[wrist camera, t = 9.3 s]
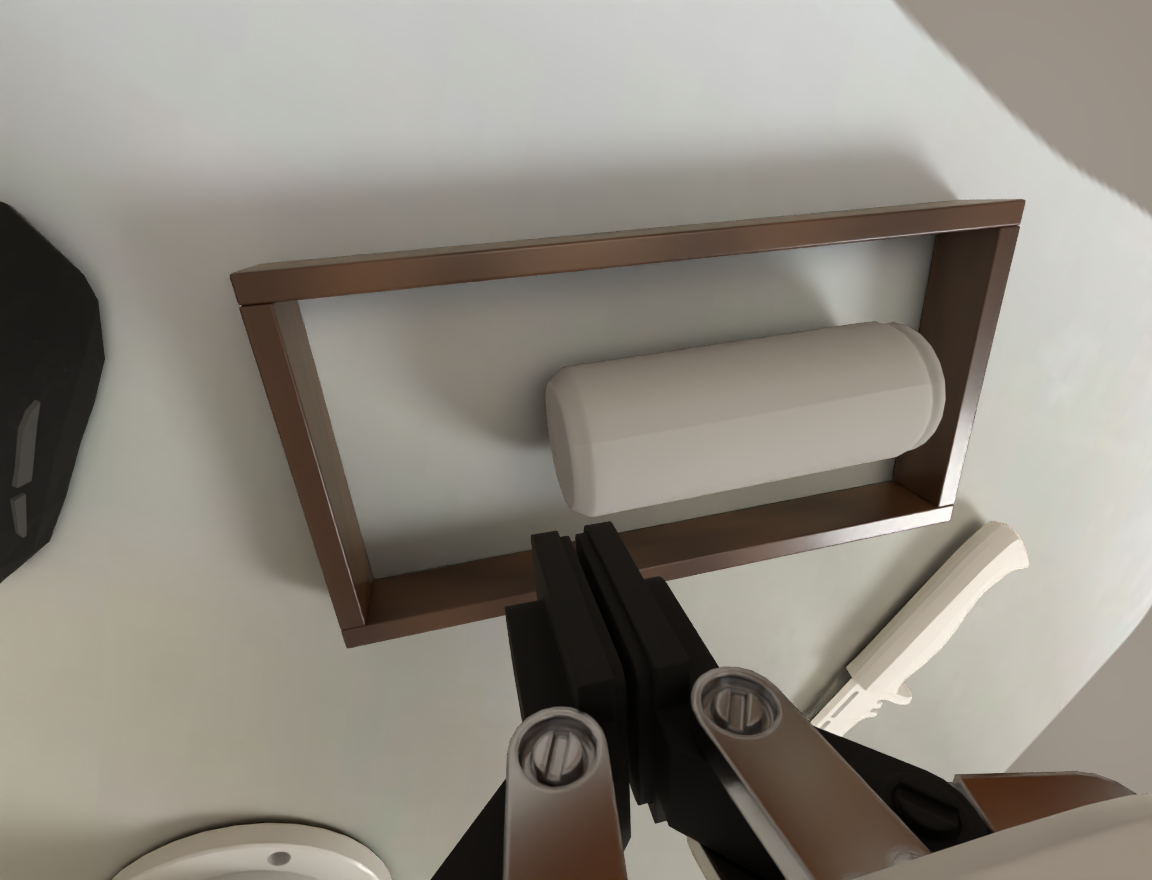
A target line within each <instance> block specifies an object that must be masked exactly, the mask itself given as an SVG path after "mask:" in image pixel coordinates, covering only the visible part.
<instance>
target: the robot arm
mask: <svg viewBox="0 0 1152 880" xmlns="http://www.w3.org/2000/svg"><path fill="white" fill-rule="evenodd" d="M575 542H576V552H575V549H574V547H573V545H572V542H571V540H570V537H569V536H563V537H560V535H559V533H558V531H551V532H546V533H540V534H534V535H531V546H532V556H533V565H534V575H535V584H536V594H537V600H536V601H531V602H526V603H521V604H516V605H511V606H506V607H505V614H506V622H507V629H508V637H509V644H510V651H511V657H512V664H513V670H514V676H515V683H516V688H517V694H518V700H519V706H520V712H521V718H522V723H521V724H520V725H519V726H518V727H517V729H516V730H515V732H514V734H513V736H512V737H511V739H510V742H509V747H508V752H507V769H506V779H505V780H504V782H503V783H502V785H501V786H500V787H499V789H498V790H497V791H496V793H495V794H494V795H493V797H492V798H491V799H490V801H489V802H488V803H487V805H486V806H485V807H484V809H483V810H482V811H481V813H480V814H479V815H478V817H477V818H476V819H475V821H474V822H473V823H472V825H471V826H470V827H469V829H468V830H467V831H466V833H465V834H464V835H463V837H462V838H461V840H460V841H459V842H458V844H457V845H456V846H455V848H454V849H453V850H452V852H451V853H450V854H449V856H448V857H447V858H446V860H445V861H444V862H443V864H442V865H441V866H440V868H439V869H438V870H437V872H436V873H435V874H434V876H433V877H432V878H431V880H628V879H627V872H626V865H625V859H624V850H625V848H626V846H627V844H628V842H629V840H630V838H631V824H630V788H629V783H630V786H631V789H632V792H633V795H634V797H635V800H636V802H637V804H638V805H642V804H646V803H648V805H649V808H650V811H651V814H652V817H653V819H654V822H655V824H656V823H660V822H663V821H667V822H668V825H669V826H670V827H672V828H673V829H675V830H677V831H679V832H681V833H682V834H684V835H686V836H687V842H688V844H689V847H690V850H691V852H692V855H693V856H694V858H695V860H696V862H697V864H698V865H699V867H700V869H701V871H702V873H703V874H704V876H705V878H706V880H1152V793H1145V794H1136V793H1134V792H1133V791H1131V790H1129V789H1128V788H1126V787H1124V786H1123V785H1121V784H1119V783H1118V782H1116V781H1113V780H1110V779H1108V778H1105V777H1103V776H1100V775H1097V774H1093V773H1086V772H1078V771H1066V772H1029V773H991V774H955V776H954V780H953V782H946V781H945V780H944V779H942V778H940V777H938V776H936V775H934V774H932V773H930V772H928V771H926V770H924V769H921V768H919V767H916V766H914V765H911V764H909V763H906V762H903V761H901V760H898V759H896V758H893V757H891V756H888V755H886V754H883V753H881V752H878V751H876V750H873V749H871V748H868V747H866V746H863V745H861V744H858V743H856V742H853V741H851V740H848V739H846V738H843V737H841V736H838V735H835V734H833V733H830V732H828V731H825V730H823V729H820V728H818V727H815V726H813V725H812V724H811V723H810V722H809V721H808V720H807V719H806V718H805V717H804V716H803V715H802V713H801V712H800V711H799V710H798V709H797V708H796V707H795V706H794V705H793V704H792V703H791V702H790V701H789V700H788V699H787V697H786V696H785V695H784V694H783V693H782V692H781V691H780V690H779V689H778V688H777V687H776V686H775V685H774V684H773V683H771V682H770V681H769V680H768V679H767V678H765V677H764V676H762V675H760V674H758V673H756V672H754V671H751V670H747V669H744V668H740V667H720V668H719V666H718V665H717V663H716V662H715V660H714V658H713V657H712V655H711V654H710V652H709V650H708V649H707V647H706V646H705V644H704V642H703V641H702V639H701V638H700V636H699V634H698V633H697V631H696V630H695V628H694V626H693V625H692V623H691V622H690V620H689V618H688V617H687V615H686V614H685V612H684V610H683V609H682V607H681V606H680V604H679V602H678V601H677V599H676V598H675V596H674V594H673V593H672V591H671V589H670V588H669V586H668V585H667V583H666V582H665V580H664V579H663V578H662V577H660V576H656V577H651V578H646V579H644V578H643V576H642V575H641V573H640V571H639V569H638V568H637V566H636V564H635V562H634V561H633V559H632V557H631V555H630V554H629V552H628V550H627V548H626V547H625V545H624V543H623V541H622V540H621V538H620V536H619V534H618V533H617V531H616V529H615V527H614V525H613V524H612V522H610V521H608V522H602V523H597V524H591V525H585V526H584V533H580V534H576V536H575ZM112 880H392V878H391V875H390V873H389V871H388V869H387V868H386V866H385V865H384V863H383V862H382V860H381V859H380V858H379V857H378V856H376V855H375V854H374V853H373V852H372V851H371V850H370V849H368V848H367V847H366V846H364V845H362V844H361V843H359V842H357V841H355V840H353V839H351V838H350V837H348V836H345V835H342V834H339V833H336V832H333V831H330V830H327V829H324V828H318V827H312V826H307V825H301V824H288V823H257V824H245V825H235V826H229V827H224V828H219V829H214V830H209V831H204V832H201V833H198V834H195V835H192V836H189V837H186V838H182V839H179V840H176V841H174V842H171V843H169V844H167V845H165V846H163V847H161V848H159V849H156V850H154V851H152V852H150V853H148V854H146V855H144V856H142V857H141V858H139V859H138V860H136V861H135V862H133V863H132V864H130V865H129V866H127V867H126V868H124V869H123V870H121V871H120V872H119V873H118V874H117V875H116V876H115V877H114V878H113V879H112Z"/></svg>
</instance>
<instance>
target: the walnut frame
mask: <svg viewBox="0 0 1152 880" xmlns="http://www.w3.org/2000/svg"><path fill="white" fill-rule="evenodd" d="M1024 206H1025V200H1023V199H990V200H954V201H943V202H932V203H921V204H910V205H900V206H889V207H878V208H867V209H856V210H845V211H834V212H823V213H812V214H801V215H790V216H779V217H768V218H758V219H747V220H736V221H725V222H714V223H703V224H692V225H681V226H670V227H659V228H648V229H637V230H627V231H616V232H605V233H594V234H583V235H572V236H561V237H550V238H539V239H528V240H517V241H506V242H495V243H485V244H474V245H463V246H452V247H441V248H430V249H419V250H408V251H397V252H386V253H375V254H364V255H353V256H343V257H332V258H321V259H310V260H299V261H288V262H277V263H266V264H259V265H256V266H252V267H249V268H246V269H243V270H240V271H237V272H234V273H232V274H230V280H231V283H232V286H233V289H234V292H235V296H236V299H237V302H238V304H239V305H242V306H241V307H240V312H241V316H242V319H243V322H244V325H245V328H246V331H247V335H248V338H249V341H250V344H251V347H252V350H253V354H254V357H255V360H256V363H257V366H258V369H259V372H260V376H261V379H262V382H263V385H264V388H265V391H266V395H267V398H268V401H269V404H270V407H271V410H272V414H273V417H274V420H275V423H276V426H277V429H278V433H279V436H280V439H281V442H282V445H283V448H284V452H285V455H286V458H287V461H288V464H289V467H290V470H291V474H292V477H293V480H294V483H295V486H296V489H297V493H298V496H299V499H300V502H301V505H302V508H303V512H304V515H305V518H306V521H307V524H308V527H309V531H310V534H311V537H312V540H313V543H314V546H315V550H316V553H317V556H318V559H319V562H320V565H321V569H322V572H323V575H324V578H325V581H326V584H327V587H328V591H329V594H330V597H331V600H332V603H333V606H334V610H335V613H336V616H337V619H338V622H339V625H340V628H341V632H342V635H343V638H344V641H345V645H346V647H347V648H353V647H357V646H362V645H367V644H371V643H376V642H381V641H386V640H390V639H395V638H400V637H404V636H409V635H414V634H419V633H423V632H428V631H433V630H437V629H442V628H447V627H452V626H456V625H461V624H466V623H470V622H475V621H480V620H485V619H489V618H494V617H499V616H504V615H506V614H505V607H506V606H511V605H516V604H521V603H526V602H531V601H536V600H537V594H536V584H535V575H534V565H533V556H532V550H530V551H525V552H519V553H514V554H509V555H504V556H499V557H493V558H488V559H483V560H478V561H473V562H468V563H462V564H457V565H452V566H447V567H442V568H436V569H431V570H426V571H421V572H416V573H410V574H405V575H400V576H395V577H390V578H384V579H379V580H374V581H373V577H372V573H371V569H370V566H369V562H368V558H367V555H366V551H365V547H364V544H363V540H362V536H361V533H360V529H359V525H358V521H357V518H356V514H355V510H354V507H353V503H352V499H351V496H350V492H349V488H348V485H347V481H346V477H345V474H344V470H343V466H342V463H341V459H340V455H339V452H338V448H337V444H336V441H335V437H334V433H333V430H332V426H331V422H330V419H329V415H328V411H327V408H326V404H325V400H324V397H323V393H322V389H321V386H320V382H319V378H318V375H317V371H316V367H315V364H314V360H313V356H312V353H311V349H310V345H309V342H308V338H307V334H306V331H305V327H304V323H303V320H302V316H301V312H300V309H299V305H298V301H297V300H304V299H313V298H323V297H333V296H342V295H352V294H362V293H371V292H381V291H391V290H400V289H410V288H420V287H429V286H439V285H449V284H458V283H468V282H478V281H487V280H497V279H507V278H516V277H526V276H536V275H545V274H555V273H564V272H574V271H584V270H593V269H603V268H613V267H622V266H632V265H642V264H651V263H661V262H671V261H680V260H690V259H700V258H709V257H719V256H729V255H738V254H748V253H758V252H767V251H777V250H787V249H796V248H806V247H816V246H825V245H835V244H845V243H854V242H864V241H874V240H883V239H893V238H903V237H912V236H922V235H932V234H937V237H936V243H935V248H934V254H933V259H932V265H931V270H930V276H929V281H928V287H927V292H926V298H925V303H924V309H923V314H922V320H921V325H920V331H919V333H920V334H921V335H922V336H923V337H924V339H925V340H926V341H927V342H928V343H929V344H930V345H931V346H932V348H933V350H934V352H935V354H936V356H937V358H938V360H939V361H940V364H941V368H942V372H943V376H944V379H945V397H946V400H945V405H944V410H943V416H942V418H941V421H940V423H939V425H938V427H937V429H936V431H935V432H934V434H933V435H932V436H931V437H930V438H929V439H928V440H927V441H926V442H925V443H924V444H922V445H920V446H919V447H917V448H915V449H913V450H908V451H906V452H904V453H902V454H901V455H899V456H897V457H896V462H895V468H894V473H893V481H888V482H883V483H878V484H872V485H867V486H862V487H857V488H852V489H846V490H841V491H836V492H831V493H826V494H820V495H815V496H810V497H805V498H800V499H794V500H789V501H784V502H779V503H774V504H769V505H763V506H758V507H753V508H748V509H743V510H737V511H732V512H727V513H722V514H717V515H711V516H706V517H701V518H696V519H691V520H686V521H680V522H675V523H670V524H665V525H660V526H654V527H649V528H644V529H639V530H634V531H628V532H623V533H618V534H619V536H620V538H621V540H622V541H623V543H624V545H625V547H626V548H627V550H628V552H629V554H630V555H631V557H632V559H633V561H634V562H635V564H636V566H637V568H638V569H639V571H640V573H641V575H642V576H643V578H644V579H646V578H651V577H656V576H660V577H662V578H663V579H664V580H665V581H669V580H673V579H678V578H683V577H687V576H692V575H697V574H702V573H706V572H711V571H716V570H721V569H725V568H730V567H735V566H739V565H744V564H749V563H754V562H758V561H763V560H768V559H772V558H777V557H782V556H787V555H791V554H796V553H801V552H805V551H810V550H815V549H820V548H824V547H829V546H834V545H838V544H843V543H848V542H853V541H857V540H862V539H867V538H871V537H876V536H881V535H886V534H890V533H895V532H900V531H904V530H909V529H914V528H919V527H923V526H928V525H933V524H937V523H942V522H947V521H950V518H951V514H952V510H953V504H954V502H955V498H956V493H957V489H958V485H959V481H960V477H961V472H962V468H963V464H964V460H965V456H966V451H967V447H968V443H969V439H970V435H971V430H972V426H973V422H974V418H975V414H976V409H977V405H978V401H979V397H980V393H981V389H982V384H983V380H984V376H985V372H986V368H987V363H988V359H989V355H990V351H991V347H992V342H993V338H994V334H995V330H996V326H997V321H998V317H999V313H1000V309H1001V305H1002V300H1003V296H1004V292H1005V288H1006V284H1007V279H1008V275H1009V271H1010V267H1011V263H1012V258H1013V254H1014V250H1015V246H1016V242H1017V237H1018V233H1019V229H1020V226H1017V225H1019V224H1020V223H1021V219H1022V214H1023V210H1024ZM572 545H573V547H574V549H575V552H576V542H572Z"/></svg>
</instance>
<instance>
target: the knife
mask: <svg viewBox="0 0 1152 880" xmlns="http://www.w3.org/2000/svg"><path fill="white" fill-rule="evenodd" d="M1027 567H1029V562H1028V555H1027V552H1026V549H1025V547H1024V544H1023V542H1022V540H1021V538H1020V537H1019V535H1018V534H1017V533H1016V532H1015V531H1014V530H1013V529H1012V528H1010V527H1009V526H1008V525H1007V524H1004V523H1001V522H996V521H990V522H989V523H987V524H985V525H984V526H982V527H981V528H980V529H979V530H978V531H977V532H976V533H975V534H974V535H972V536H971V537H970V538H969V539H968V540H967V541H966V542H965V543H964V544H963V545H962V546H961V547H960V548H959V549H958V550H957V551H956V552H955V553H954V554H953V555H952V556H951V557H950V558H949V559H948V560H947V561H946V562H945V563H944V564H943V565H942V566H941V568H940V569H939V570H938V571H937V572H936V573H935V574H934V575H933V576H932V577H931V578H930V579H929V580H928V581H927V582H926V583H925V585H924V586H923V587H922V588H921V589H920V590H919V591H918V592H917V593H916V594H915V595H914V596H913V597H912V598H911V600H910V601H909V602H908V603H907V604H906V605H905V606H904V607H903V608H902V609H901V610H900V611H899V612H898V613H897V614H896V616H895V617H894V618H893V619H892V620H891V621H890V622H889V623H888V624H887V625H886V626H885V627H884V628H883V629H882V631H881V632H880V633H879V634H878V635H877V636H876V637H875V638H874V639H873V640H872V641H871V642H870V643H869V644H868V645H867V647H866V648H865V649H864V650H863V651H862V652H861V653H860V654H859V655H858V656H857V657H856V658H855V659H854V660H853V661H852V662H851V663H850V664H849V665H848V666H847V667H846V668H847V670H848V672H849V674H850V675H851V676H852V678H851V679H850V680H849V681H848V682H847V683H846V685H845V686H844V687H843V688H842V689H841V690H840V691H839V692H838V693H837V694H836V695H835V696H834V697H833V698H832V699H831V700H830V702H829V703H828V704H827V705H826V706H825V707H824V708H823V709H822V710H821V711H820V712H819V713H818V714H817V715H816V716H815V718H814V719H813V720H812V721H811V722H810V723H811V724H812V725H813V726H815V727H818V728H820V729H823V730H825V731H828V732H830V733H833V734H835V735H838V736H841V737H842V736H843V735H844V734H845V733H846V732H847V731H848V730H849V729H850V728H852V727H853V726H854V725H855V724H856V723H857V722H859V721H860V720H862V719H864V718H866V717H875V716H876V714H877V711H876V710H875V709H874V708H881V706H882V703H881V702H880V700H885V699H886V700H888V701H891V702H894V703H896V704H900V705H905V704H909V703H910V701H911V699H912V694H911V692H910V690H909V689H908V687H907V686H906V685H905V684H904V683H903V681H904V680H905V679H907V678H908V677H909V676H910V675H911V674H913V673H914V672H915V671H916V670H918V669H919V668H920V667H921V666H922V665H924V664H925V663H926V662H927V661H928V660H929V659H930V658H931V657H933V656H934V655H935V654H936V653H937V652H938V651H939V650H940V649H941V648H942V647H943V645H944V644H945V643H946V642H947V641H948V639H949V638H950V637H951V636H952V635H953V633H954V632H955V631H956V629H957V628H958V626H959V625H960V624H961V622H962V621H963V619H964V618H965V617H966V615H967V614H968V612H969V611H970V609H971V608H972V607H973V605H974V604H975V602H976V601H977V600H978V599H979V598H980V597H981V596H982V595H983V594H984V593H985V591H987V590H988V589H989V588H990V587H991V586H993V585H994V584H995V583H996V582H998V581H999V580H1000V579H1002V578H1003V577H1004V576H1006V575H1007V574H1009V573H1010V572H1011V571H1013V570H1016V569H1025V568H1027Z"/></svg>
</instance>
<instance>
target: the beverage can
mask: <svg viewBox="0 0 1152 880" xmlns="http://www.w3.org/2000/svg"><path fill="white" fill-rule="evenodd" d="M945 400H946V397H945V379H944V376H943V372H942V368H941V364H940V361H939V360H938V358H937V356H936V354H935V352H934V350H933V348H932V346H931V345H930V344H929V343H928V342H927V341H926V340H925V339H924V337H923V336H922V335H921V334H920V333H918V332H917V331H915V330H913V329H912V328H910V327H909V326H906V325H902V324H898V323H894V322H892V323H880V322H876V321H873V322H864V323H856V324H849V325H843V326H836V327H829V328H822V329H816V330H809V331H802V332H796V333H789V334H782V335H776V336H769V337H762V338H755V339H749V340H742V341H735V342H729V343H722V344H715V345H708V346H702V347H695V348H688V349H682V350H675V351H668V352H662V353H655V354H648V355H641V356H635V357H628V358H621V359H615V360H608V361H601V362H594V363H588V364H581V365H574V366H568V367H563V368H562V369H561V370H560V371H559V372H558V373H557V374H556V375H554V377H553V378H552V379H551V380H550V381H549V383H548V385H547V387H546V413H547V423H548V431H549V438H550V444H551V450H552V455H553V460H554V465H555V469H556V474H557V477H558V481H559V484H560V487H561V490H562V493H563V496H564V499H565V501H566V503H567V505H568V506H569V508H570V509H572V510H574V511H576V512H579V513H581V514H584V515H586V516H591V517H595V516H600V515H605V514H610V513H615V512H621V511H626V510H631V509H636V508H641V507H646V506H652V505H657V504H662V503H667V502H672V501H677V500H682V499H687V498H692V497H697V496H702V495H708V494H713V493H718V492H723V491H728V490H733V489H738V488H743V487H748V486H753V485H758V484H763V483H768V482H773V481H778V480H783V479H788V478H793V477H798V476H803V475H808V474H813V473H818V472H823V471H828V470H833V469H838V468H844V467H849V466H854V465H859V464H864V463H869V462H874V461H879V460H884V459H889V458H894V457H897V456H899V455H901V454H902V453H904V452H906V451H908V450H913V449H915V448H917V447H919V446H920V445H922V444H924V443H925V442H926V441H927V440H928V439H929V438H930V437H931V436H932V435H933V434H934V432H935V431H936V429H937V427H938V425H939V423H940V421H941V418H942V416H943V410H944V405H945Z"/></svg>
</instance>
